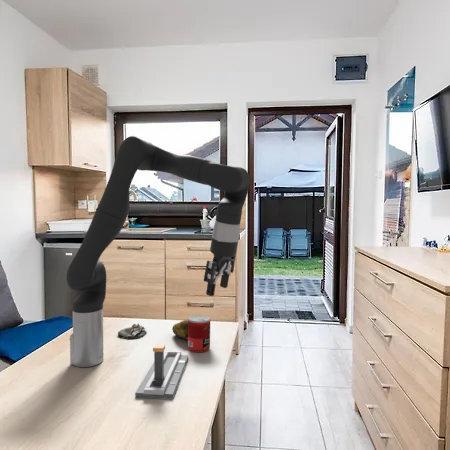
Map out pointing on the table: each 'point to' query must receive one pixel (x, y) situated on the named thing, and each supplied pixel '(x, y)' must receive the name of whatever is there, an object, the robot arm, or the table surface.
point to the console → (172, 373)
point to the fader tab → (158, 364)
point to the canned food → (199, 333)
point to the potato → (181, 329)
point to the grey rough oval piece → (132, 332)
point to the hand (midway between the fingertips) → (216, 291)
